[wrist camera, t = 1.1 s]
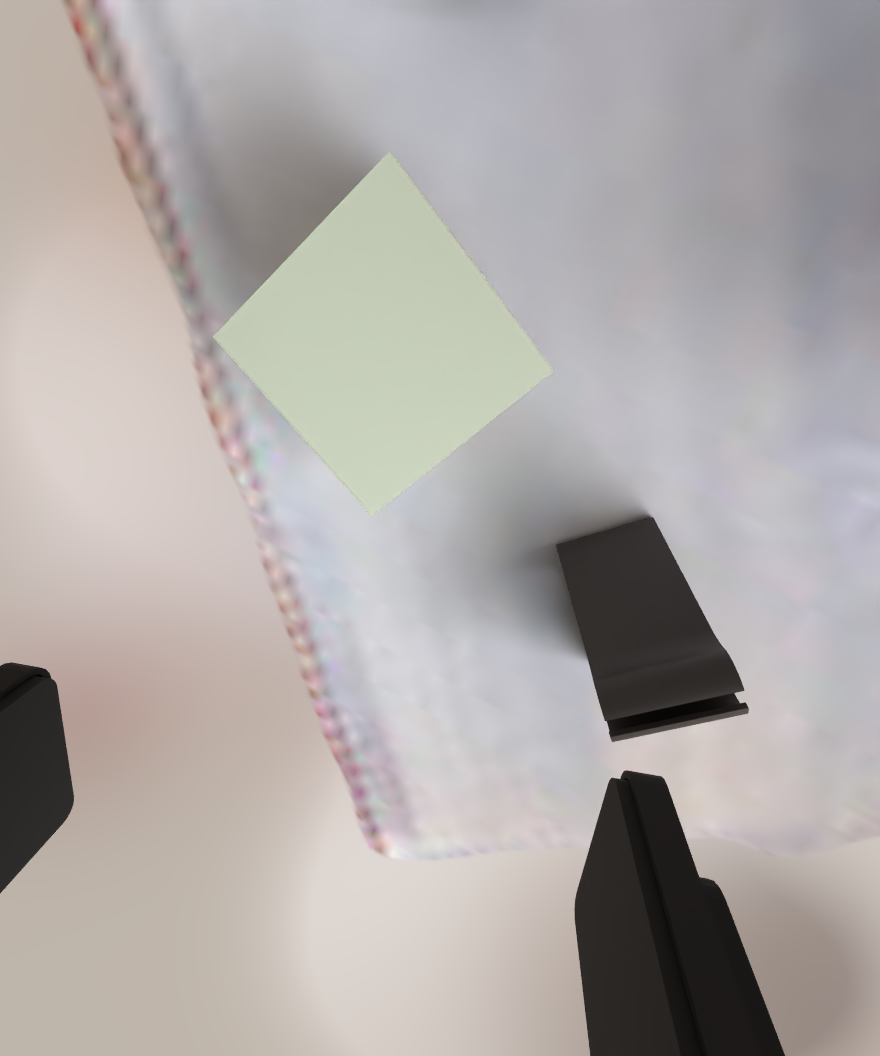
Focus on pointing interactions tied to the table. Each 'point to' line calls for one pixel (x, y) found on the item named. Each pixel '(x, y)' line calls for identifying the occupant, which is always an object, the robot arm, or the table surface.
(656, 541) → the phone stand
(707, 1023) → the robot arm
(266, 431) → the table surface
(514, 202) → the table surface
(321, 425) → the tower top
